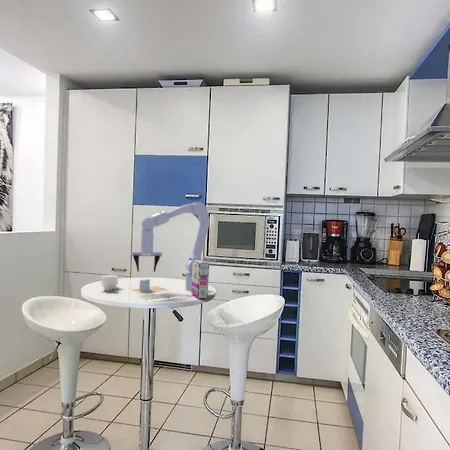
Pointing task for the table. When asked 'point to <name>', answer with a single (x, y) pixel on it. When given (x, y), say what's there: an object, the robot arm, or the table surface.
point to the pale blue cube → (144, 285)
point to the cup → (109, 282)
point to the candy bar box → (200, 279)
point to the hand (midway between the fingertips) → (146, 271)
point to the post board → (152, 289)
